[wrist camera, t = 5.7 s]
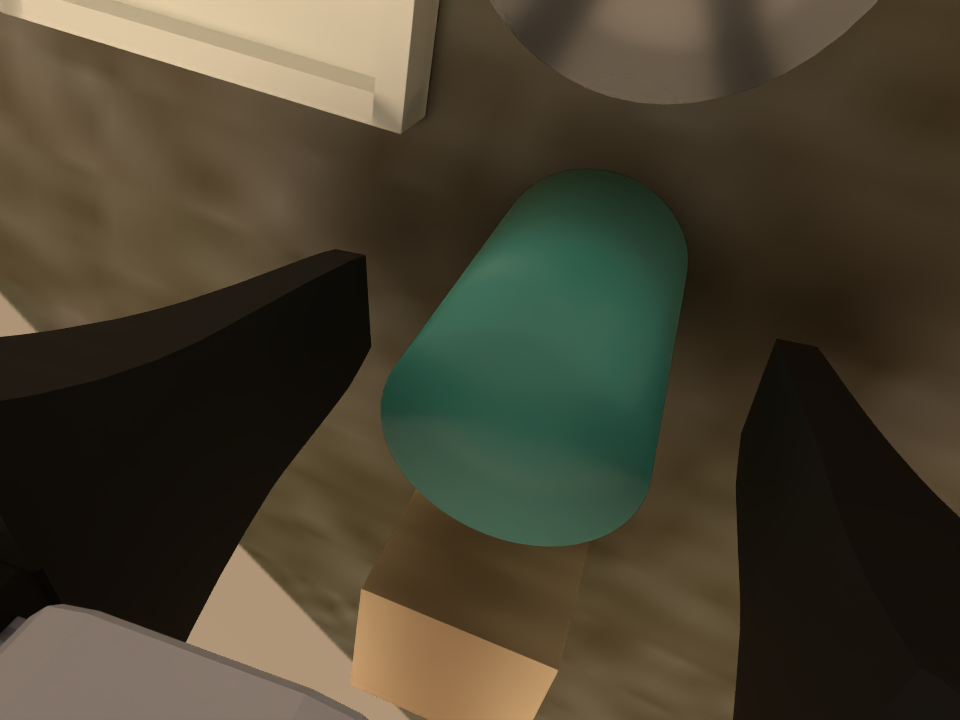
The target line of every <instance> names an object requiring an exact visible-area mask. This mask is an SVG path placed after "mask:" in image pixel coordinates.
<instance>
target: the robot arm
mask: <svg viewBox="0 0 960 720" xmlns="http://www.w3.org/2000/svg"><path fill="white" fill-rule="evenodd" d="M370 348H371V335H370V319H369V303H368V286H367V270H366V255H361V254H357V253H352V252H347V251H342V250H337V249H335V250H331V251H327V252H323V253H320V254H317V255H314V256H311V257H308V258H305V259H302V260H300V261H297V262H294V263H291V264H289V265H286V266H283V267H281V268H278V269H276V270H273V271H270V272H268V273H265V274H262V275H260V276H257V277H254V278H252V279H249V280H246V281H244V282H241V283H238V284H235V285H232V286H229V287H226V288H223V289H220V290H217V291H214V292H211V293H208V294H205V295H203V296H200V297H197V298H194V299H191V300H188V301H184V302H181V303H178V304H174V305H171V306H167V307H164V308H160V309H156V310H152V311H148V312H144V313H140V314H136V315H132V316H128V317H123V318H119V319H114V320H109V321H103V322H98V323H92V324H87V325H81V326H76V327H70V328H65V329H59V330H53V331H46V332H38V333H31V334H24V335H15V336H5V337H0V720H368V719H367V718H366V717H365V716H364V715H363V714H361V713H359V712H357V711H355V710H353V709H351V708H349V707H347V706H345V705H343V704H341V703H339V702H337V701H335V700H333V699H331V698H329V697H327V696H325V695H323V694H321V693H319V692H317V691H315V690H313V689H310V688H308V687H305V686H302V685H300V684H297V683H294V682H291V681H289V680H286V679H283V678H281V677H277V676H275V675H272V674H270V673H267V672H264V671H261V670H259V669H256V668H253V667H251V666H248V665H245V664H242V663H240V662H237V661H234V660H231V659H229V658H226V657H223V656H220V655H218V654H215V653H212V652H209V651H207V650H204V649H201V648H199V647H196V646H193V645H190V644H188V643H186V641H187V639H188V636H189V635H190V632H191V630H192V628H193V626H194V625H195V623H196V621H197V619H198V617H199V615H200V613H201V611H202V609H203V607H204V605H205V604H206V602H207V600H208V598H209V596H210V594H211V592H212V590H213V588H214V586H215V585H216V583H217V581H218V579H219V577H220V575H221V573H222V572H223V570H224V568H225V566H226V565H227V563H228V561H229V559H230V558H231V556H232V554H233V552H234V551H235V549H236V547H237V545H238V543H239V542H240V540H241V538H242V536H243V535H244V533H245V531H246V530H247V528H248V526H249V525H250V523H251V521H252V520H253V518H254V516H255V515H256V513H257V512H258V510H259V508H260V507H261V505H262V503H263V502H264V500H265V498H266V497H267V495H268V494H269V492H270V490H271V489H272V487H273V486H274V485H275V483H276V482H277V480H278V479H279V478H280V476H281V475H282V473H283V472H284V470H285V469H286V468H287V467H288V465H289V464H290V463H291V462H292V460H293V459H294V458H295V456H296V455H297V454H298V453H299V451H300V450H301V449H302V447H303V446H304V445H305V444H306V442H307V441H308V440H309V438H310V437H311V436H312V435H313V433H314V432H315V431H316V430H317V428H318V427H319V426H320V424H321V423H322V422H323V421H324V419H325V418H326V417H327V415H328V414H329V413H330V411H331V410H332V409H333V408H334V406H335V405H336V404H337V402H338V401H339V400H340V398H341V397H342V396H343V394H344V393H345V392H346V390H347V389H348V388H349V386H350V384H351V382H352V381H353V379H354V377H355V376H356V374H357V372H358V370H359V369H360V367H361V365H362V363H363V361H364V359H365V357H366V355H367V354H368V352H369V350H370ZM736 507H737V534H738V557H739V581H740V639H739V652H738V666H737V680H736V692H735V703H734V715H733V720H960V517H959V516H958V515H957V514H955V513H954V512H953V511H952V510H951V509H950V508H949V507H948V506H947V505H946V504H945V503H944V502H943V501H942V500H941V499H940V498H939V497H938V496H937V495H936V494H935V493H934V492H933V491H932V490H931V489H930V488H929V487H928V486H927V485H926V484H925V483H924V482H923V481H922V480H921V479H920V477H919V476H918V475H917V474H916V473H915V472H914V471H913V470H912V468H911V467H910V466H909V465H908V464H907V463H906V462H905V461H904V459H903V458H902V457H901V456H900V455H899V454H898V453H897V452H896V450H895V449H894V448H893V447H892V446H891V444H890V443H889V442H888V441H887V440H886V438H885V437H884V436H883V435H882V434H881V432H880V431H879V430H878V429H877V427H876V426H875V425H874V424H873V422H872V421H871V420H870V418H869V417H868V416H867V414H866V413H865V412H864V411H863V409H862V408H861V407H860V405H859V404H858V403H857V401H856V400H855V399H854V397H853V396H852V394H851V393H850V392H849V390H848V389H847V388H846V386H845V385H844V383H843V382H842V381H841V379H840V378H839V376H838V375H837V374H836V372H835V371H834V369H833V368H832V366H831V365H830V364H829V362H828V361H827V359H826V358H825V357H824V355H823V354H822V353H821V351H820V350H819V349H818V347H815V346H810V345H805V344H800V343H795V342H790V341H785V340H780V339H776V341H775V344H774V347H773V350H772V352H771V355H770V358H769V360H768V363H767V366H766V368H765V371H764V374H763V376H762V379H761V382H760V384H759V387H758V390H757V392H756V395H755V398H754V401H753V403H752V406H751V409H750V411H749V414H748V417H747V419H746V422H745V425H744V427H743V430H742V433H741V440H740V449H739V458H738V467H737V478H736Z"/></svg>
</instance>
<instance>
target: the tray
mask: <svg viewBox="0 0 960 720" xmlns="http://www.w3.org/2000/svg"><path fill="white" fill-rule="evenodd" d="M438 7H439V0H0V12H2V13H5V14H9V15H12V16H15V17H19V18H22V19H25V20H28V21H32V22H35V23H38V24H41V25H45V26H48V27H51V28H55V29H58V30H61V31H64V32H68V33H71V34H74V35H77V36H81V37H84V38H87V39H91V40H94V41H97V42H100V43H104V44H107V45H110V46H113V47H117V48H120V49H123V50H127V51H130V52H133V53H136V54H140V55H143V56H146V57H149V58H153V59H156V60H159V61H163V62H166V63H169V64H172V65H176V66H179V67H182V68H185V69H189V70H192V71H195V72H199V73H202V74H205V75H208V76H212V77H215V78H218V79H221V80H225V81H228V82H231V83H235V84H238V85H241V86H244V87H248V88H251V89H254V90H257V91H261V92H264V93H267V94H271V95H274V96H277V97H280V98H284V99H287V100H290V101H293V102H297V103H300V104H303V105H307V106H310V107H313V108H316V109H320V110H323V111H326V112H329V113H333V114H336V115H339V116H343V117H346V118H349V119H352V120H356V121H359V122H362V123H366V124H369V125H372V126H375V127H379V128H382V129H385V130H388V131H392V132H395V133H398V134H402V133H403V132H405V131H406V130H407V129H409V128H410V127H411V126H413V125H414V124H415V123H417V122H418V121H419V120H421V119H422V118H424V117H425V113H426V105H427V97H428V89H429V80H430V72H431V64H432V56H433V48H434V40H435V32H436V24H437V16H438Z"/></svg>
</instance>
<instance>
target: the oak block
mask: <svg viewBox="0 0 960 720" xmlns="http://www.w3.org/2000/svg"><path fill="white" fill-rule="evenodd" d="M589 544H590V541H588V542H584V543H580V544H575V545H567V546H548V547H547V546H533V545H526V544H520V543H514V542H510V541H506V540H502V539H499V538H496V537H493V536H490V535H487V534H484V533H482V532H480V531H477V530H475V529H473V528H471V527H468V526H467V525H465V524H463V523H461V522H459V521H457V520H455V519H454V518H452V517H451V516H449V515H448V514H446V513H445V512H443V511H442V510H440V509H439V508H438V507H436V506H435V505H434V504H433V503H431V502H430V501H429V500H428V499H427V498H426V497H425V496H423V495H422V494H421V493H420V492H419V491H418V490H417V489H416V490H415V492H414V494H413V496H412V497H411V499H410V501H409V503H408V505H407V507H406V508H405V510H404V512H403V514H402V516H401V517H400V519H399V521H398V523H397V525H396V527H395V528H394V530H393V532H392V534H391V536H390V538H389V539H388V541H387V543H386V545H385V547H384V548H383V550H382V552H381V554H380V556H379V558H378V559H377V561H376V563H375V565H374V567H373V569H372V570H371V572H370V574H369V576H368V578H367V580H366V581H365V583H364V585H363V587H362V589H361V597H360V605H359V614H358V622H357V630H356V639H355V647H354V656H353V664H352V673H351V681H350V685H351V686H353V687H356V688H358V689H360V690H362V691H365V692H367V693H369V694H371V695H374V696H376V697H378V698H381V699H383V700H385V701H387V702H390V703H392V704H394V705H397V706H399V707H401V708H403V709H406V710H408V711H410V712H413V713H415V714H417V715H419V716H422V717H424V718H426V719H429V720H533V719H534V717H535V715H536V713H537V711H538V709H539V707H540V705H541V703H542V701H543V699H544V697H545V695H546V693H547V691H548V689H549V687H550V685H551V684H552V682H553V680H554V678H555V676H556V674H557V672H558V670H559V665H560V661H561V657H562V653H563V649H564V645H565V641H566V637H567V633H568V629H569V625H570V621H571V617H572V613H573V609H574V605H575V600H576V596H577V592H578V588H579V584H580V580H581V576H582V572H583V568H584V564H585V560H586V556H587V552H588V548H589Z"/></svg>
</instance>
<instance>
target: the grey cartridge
mask: <svg viewBox="0 0 960 720" xmlns="http://www.w3.org/2000/svg"><path fill="white" fill-rule="evenodd" d="M877 1H878V0H490V2H491V4H492V5H493V7H494V8H495V10H496V11H497V13H498V15H499V16H500V18H501V19H502V20H503V22H504V23H505V24H506V25H507V26H508V28H509V29H510V30H511V31H512V32H513V34H514V35H515V36H516V37H517V38H518V40H519V41H520V42H521V43H522V44H523V45H525V46H526V47H527V48H528V49H529V50H530V51H531V52H532V53H533V54H534V55H535V56H536V57H537V58H538V59H540V60H541V61H542V62H544V63H545V64H547V65H548V66H549V67H551V68H552V69H554V70H555V71H556V72H558V73H559V74H561V75H562V76H564V77H566V78H568V79H570V80H572V81H573V82H575V83H577V84H579V85H581V86H583V87H585V88H587V89H590V90H593V91H596V92H599V93H601V94H604V95H607V96H610V97H614V98H618V99H623V100H628V101H633V102H637V103H651V104H664V105H666V104H683V103H696V102H701V101H707V100H712V99H717V98H722V97H726V96H729V95H732V94H735V93H739V92H742V91H745V90H748V89H751V88H754V87H756V86H758V85H761V84H763V83H765V82H767V81H769V80H772V79H774V78H776V77H778V76H780V75H783V74H785V73H786V72H788V71H790V70H791V69H793V68H795V67H796V66H798V65H800V64H801V63H803V62H805V61H806V60H808V59H810V58H811V57H813V56H815V55H816V54H817V53H819V52H820V51H821V50H823V49H824V48H825V47H827V46H828V45H829V44H831V43H832V42H833V41H835V40H836V39H837V38H839V37H840V36H841V35H843V34H844V33H845V32H846V31H847V30H848V29H849V28H850V27H851V26H852V25H853V24H855V23H856V22H857V21H858V20H859V19H860V18H861V17H862V16H863V15H864V14H865V13H866V12H867V11H869V10H870V9H871V8H872V7H873V6H874V5H875V3H876V2H877Z"/></svg>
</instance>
